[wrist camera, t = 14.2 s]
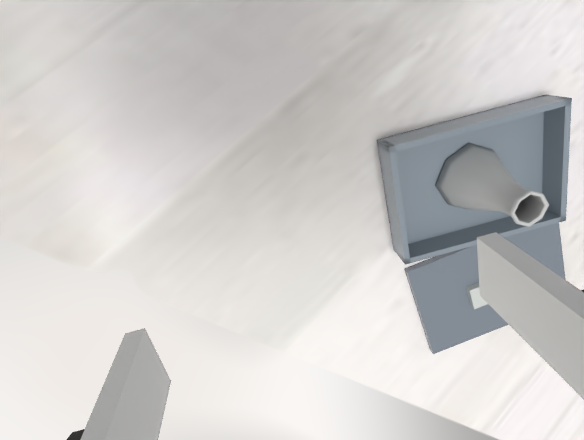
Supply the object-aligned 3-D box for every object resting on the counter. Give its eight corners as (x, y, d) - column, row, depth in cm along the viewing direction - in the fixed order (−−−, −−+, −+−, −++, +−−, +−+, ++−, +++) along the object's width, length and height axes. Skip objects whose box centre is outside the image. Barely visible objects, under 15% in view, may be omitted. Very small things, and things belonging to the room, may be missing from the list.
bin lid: (404, 269, 47) (410, 275, 45) (552, 209, 46) (562, 214, 45) (430, 349, 52) (435, 358, 51) (563, 297, 51) (572, 304, 50)
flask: (423, 187, 42) (473, 223, 33) (467, 130, 41) (533, 151, 31) (469, 219, 45) (528, 260, 35) (513, 166, 43) (587, 195, 34)
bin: (376, 140, 40) (388, 147, 37) (545, 94, 41) (571, 98, 38) (393, 249, 46) (405, 264, 42) (543, 208, 46) (565, 220, 43)
